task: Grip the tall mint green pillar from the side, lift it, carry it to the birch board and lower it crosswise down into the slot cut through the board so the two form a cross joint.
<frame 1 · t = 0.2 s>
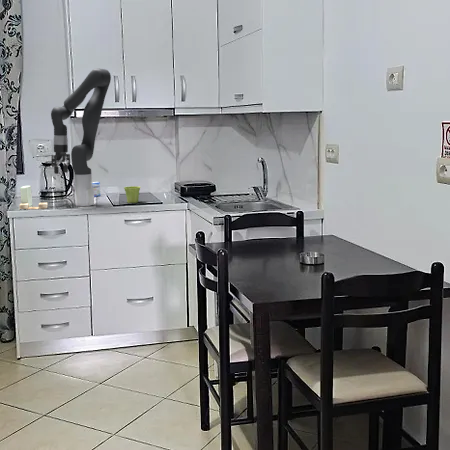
hand: (61, 173, 370), 18 cm above the kitchen counter, tool pointing down, fingers open, 8 cm apart
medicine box: (93, 197, 406), on the kitchen counter
tall mint green pillar: (26, 206, 367), on the kitchen counter
slot board: (33, 208, 360), on the kitchen counter
plant pot: (132, 202, 378), on the kitchen counter
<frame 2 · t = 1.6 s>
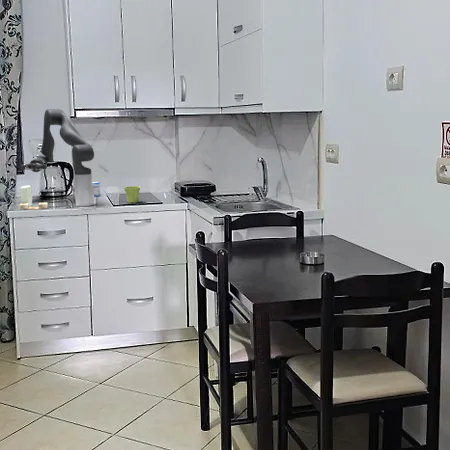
hand: (30, 167, 375), 20 cm above the kitchen counter, tool horizontal, fingers open, 8 cm apart
nothing on the kitchen counter moved.
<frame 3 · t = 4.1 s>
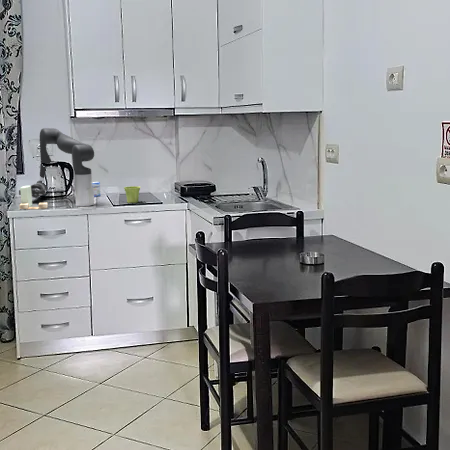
hand: (29, 193, 372), 6 cm above the kitchen counter, tool horizontal, fingers open, 8 cm apart
nothing on the kitchen counter moved.
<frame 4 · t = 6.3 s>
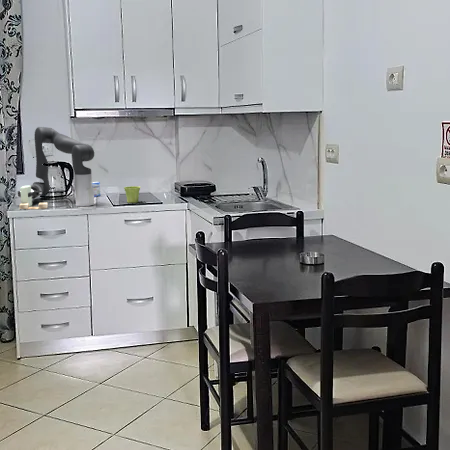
hand: (24, 195, 364), 7 cm above the kitchen counter, tool horizontal, fingers closed on tall mint green pillar, 3 cm apart
tall mint green pillar: (26, 206, 367), on the kitchen counter, touching gripper
everything else where it was.
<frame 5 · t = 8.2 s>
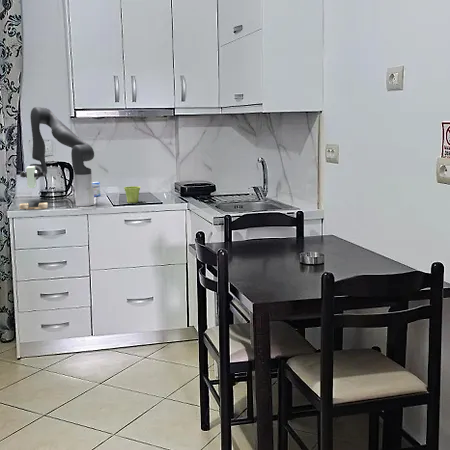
hand: (30, 175, 355), 18 cm above the kitchen counter, tool horizontal, fingers closed on tall mint green pillar, 3 cm apart
tall mint green pillar: (32, 187, 359), point 11 cm above the kitchen counter, touching gripper
everything else where it was.
when the fingers open (8 cm above the kitchen counter, at t = 10.5 s): tall mint green pillar drops 1 cm, resting on slot board.
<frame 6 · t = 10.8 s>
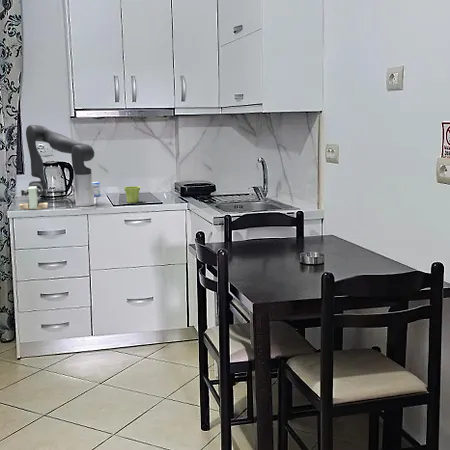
hand: (32, 194, 357), 8 cm above the kitchen counter, tool horizontal, fingers open, 6 cm apart
tall mint green pillar: (33, 207, 360), resting on slot board
everything else where it was.
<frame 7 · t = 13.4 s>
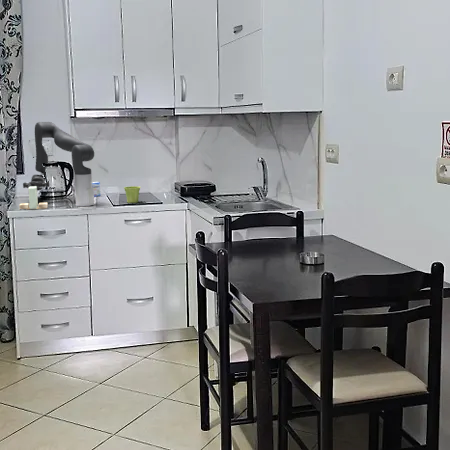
hand: (35, 185, 370), 11 cm above the kitchen counter, tool horizontal, fingers open, 8 cm apart
nothing on the kitchen counter moved.
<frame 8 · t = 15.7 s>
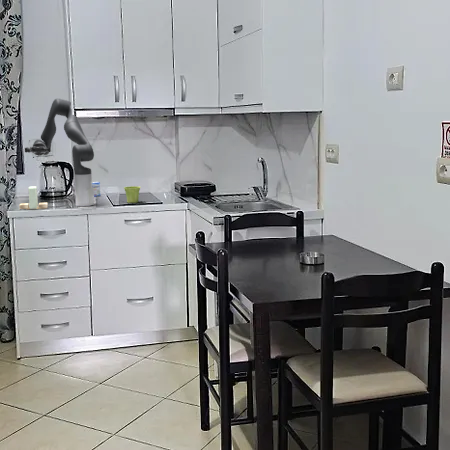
hand: (36, 150, 374), 30 cm above the kitchen counter, tool horizontal, fingers open, 8 cm apart
nothing on the kitchen counter moved.
at the end: tall mint green pillar 0.0 cm from the slot board (horizontally); tall mint green pillar resting on slot board; tall mint green pillar tilted 0° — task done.
